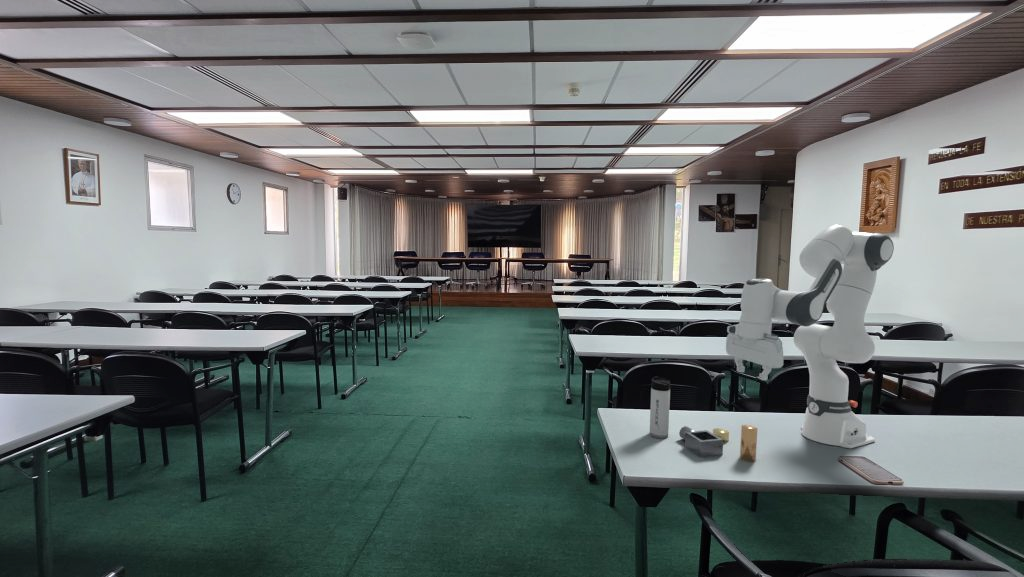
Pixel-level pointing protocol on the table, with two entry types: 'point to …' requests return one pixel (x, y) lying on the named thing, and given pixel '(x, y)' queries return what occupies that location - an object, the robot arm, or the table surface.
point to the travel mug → (659, 407)
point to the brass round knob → (721, 434)
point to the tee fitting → (702, 442)
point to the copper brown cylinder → (748, 443)
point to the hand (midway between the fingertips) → (751, 375)
